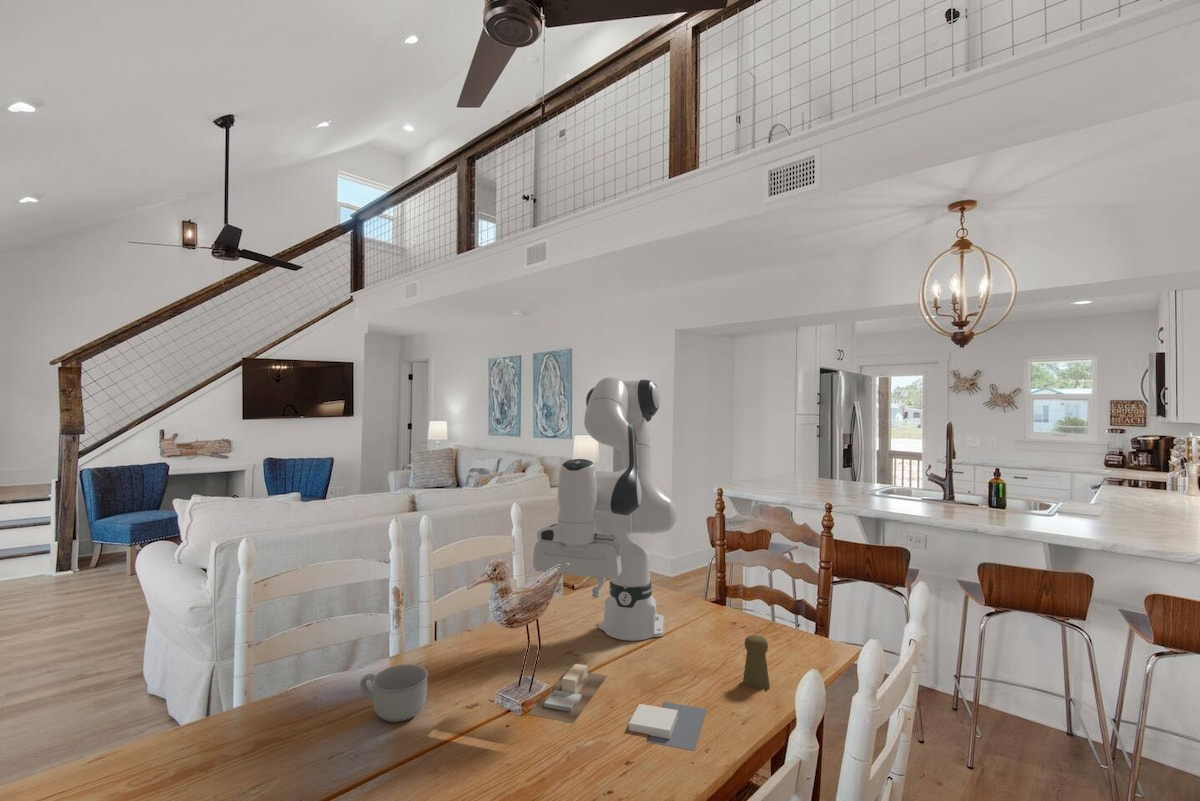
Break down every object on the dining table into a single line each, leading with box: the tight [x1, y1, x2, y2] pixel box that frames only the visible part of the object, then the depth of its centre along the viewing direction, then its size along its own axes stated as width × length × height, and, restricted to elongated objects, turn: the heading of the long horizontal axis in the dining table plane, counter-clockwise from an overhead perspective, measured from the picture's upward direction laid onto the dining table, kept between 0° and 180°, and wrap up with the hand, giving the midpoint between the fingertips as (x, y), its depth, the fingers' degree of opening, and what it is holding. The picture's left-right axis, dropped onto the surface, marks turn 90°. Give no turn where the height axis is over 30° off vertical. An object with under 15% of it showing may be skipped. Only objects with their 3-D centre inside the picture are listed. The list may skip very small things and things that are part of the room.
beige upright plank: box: [544, 663, 589, 712], centre depth 127 cm, size 14×6×4 cm, turn 161°
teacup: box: [359, 664, 429, 723], centre depth 120 cm, size 14×11×8 cm
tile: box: [628, 703, 678, 739], centre depth 115 cm, size 2×8×8 cm
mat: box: [645, 701, 708, 752], centre depth 117 cm, size 16×18×1 cm
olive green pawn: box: [742, 634, 771, 692], centre depth 134 cm, size 6×6×11 cm
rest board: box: [527, 669, 608, 724], centre depth 127 cm, size 22×10×1 cm, turn 162°
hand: (576, 594), depth 131 cm, fingers open, 8 cm apart
